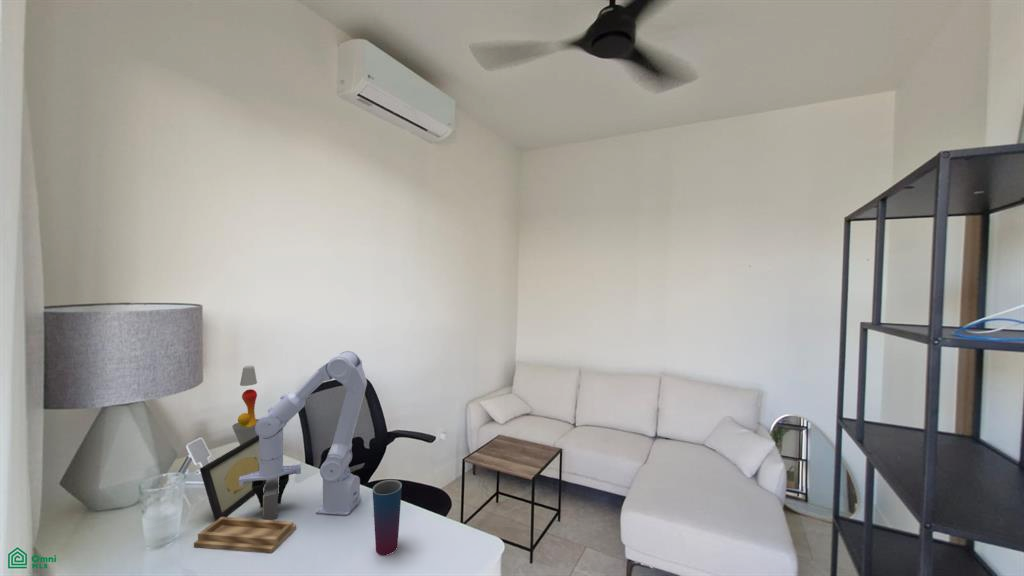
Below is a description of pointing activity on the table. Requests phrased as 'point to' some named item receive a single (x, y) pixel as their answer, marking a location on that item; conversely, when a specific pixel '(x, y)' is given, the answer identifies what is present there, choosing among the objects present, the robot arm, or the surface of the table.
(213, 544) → the wooden tray
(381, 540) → the cup
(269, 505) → the grey rectangular prism
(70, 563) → the table surface
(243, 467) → the picture frame
